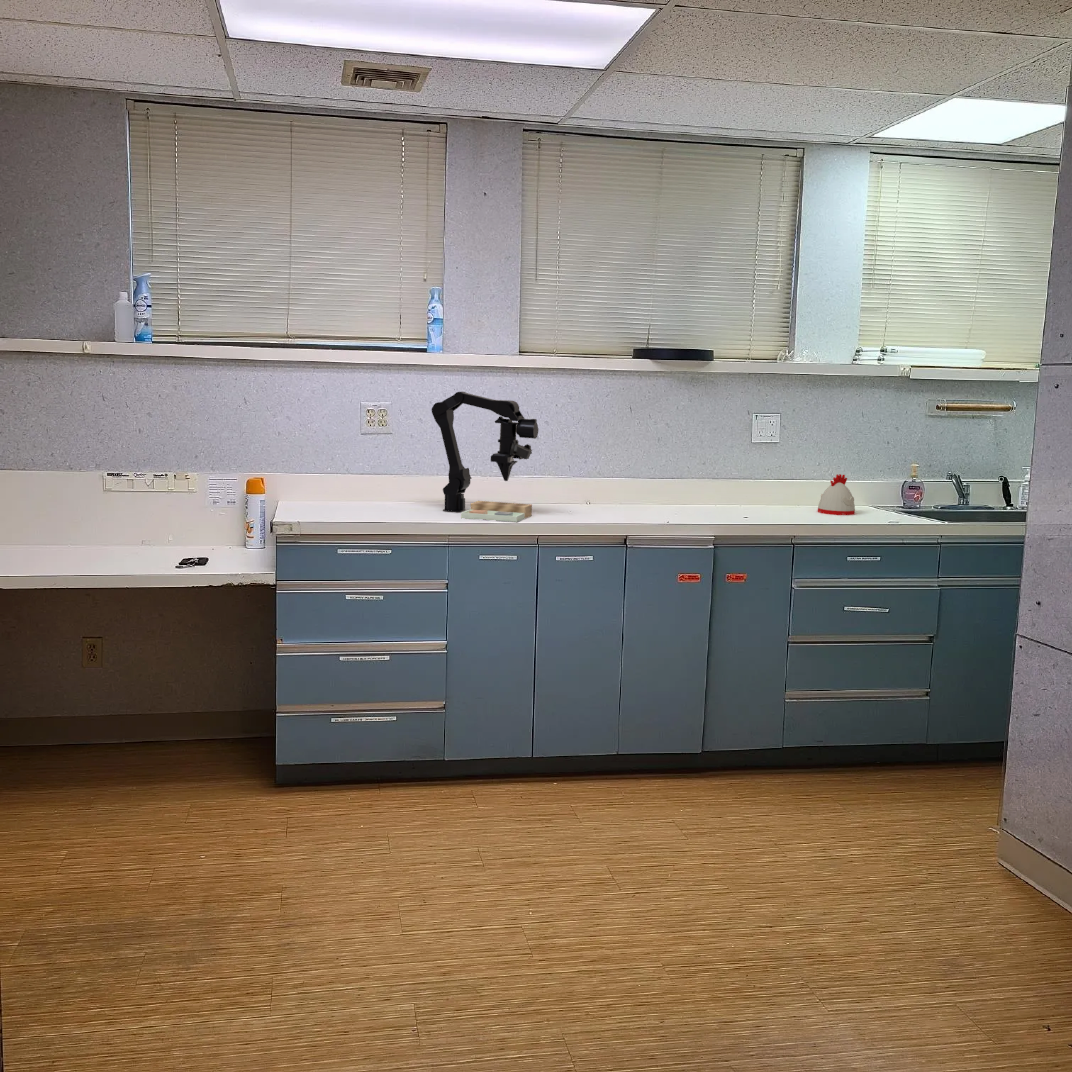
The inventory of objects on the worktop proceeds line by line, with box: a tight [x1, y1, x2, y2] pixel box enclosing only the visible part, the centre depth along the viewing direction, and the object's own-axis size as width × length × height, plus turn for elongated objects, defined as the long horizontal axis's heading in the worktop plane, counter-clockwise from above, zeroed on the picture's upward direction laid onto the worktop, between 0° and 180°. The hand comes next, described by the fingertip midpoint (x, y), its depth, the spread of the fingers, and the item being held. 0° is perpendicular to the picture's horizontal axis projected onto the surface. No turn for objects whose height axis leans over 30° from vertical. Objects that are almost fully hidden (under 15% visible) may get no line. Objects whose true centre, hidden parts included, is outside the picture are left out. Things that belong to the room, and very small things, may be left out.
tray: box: [460, 508, 526, 523], centre depth 371 cm, size 20×10×2 cm, turn 75°
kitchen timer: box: [817, 474, 856, 516], centre depth 416 cm, size 14×14×15 cm
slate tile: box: [495, 511, 513, 516], centre depth 369 cm, size 5×5×2 cm
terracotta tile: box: [469, 510, 488, 514], centre depth 372 cm, size 5×5×2 cm
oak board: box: [470, 500, 533, 519], centre depth 380 cm, size 20×8×4 cm, turn 74°
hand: (506, 480), depth 380 cm, fingers closed
